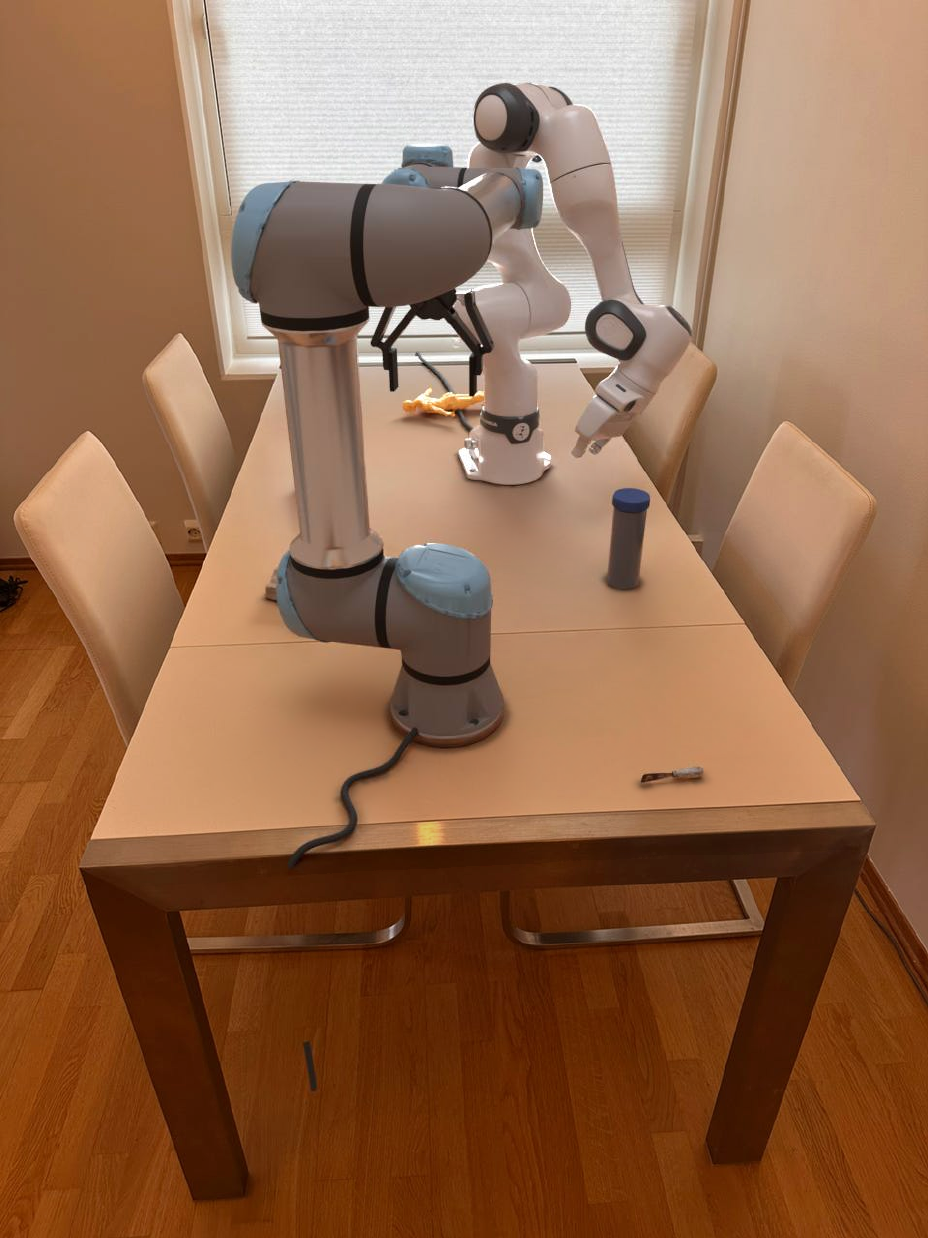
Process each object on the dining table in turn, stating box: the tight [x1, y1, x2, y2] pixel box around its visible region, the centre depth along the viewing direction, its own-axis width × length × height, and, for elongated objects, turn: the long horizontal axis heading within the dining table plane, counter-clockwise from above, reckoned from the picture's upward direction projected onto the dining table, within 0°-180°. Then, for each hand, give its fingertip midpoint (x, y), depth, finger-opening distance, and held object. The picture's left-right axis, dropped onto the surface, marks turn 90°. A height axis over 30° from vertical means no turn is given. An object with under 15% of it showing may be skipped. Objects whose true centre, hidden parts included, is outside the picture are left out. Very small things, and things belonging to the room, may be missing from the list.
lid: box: [611, 487, 651, 513], centre depth 143 cm, size 6×6×2 cm
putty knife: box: [640, 765, 705, 784], centre depth 109 cm, size 1×8×2 cm, turn 103°
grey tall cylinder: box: [606, 507, 648, 590], centre depth 147 cm, size 5×5×15 cm
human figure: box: [402, 385, 484, 418], centre depth 225 cm, size 20×20×4 cm
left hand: (433, 391), depth 149 cm, fingers open, 13 cm apart
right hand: (584, 454), depth 170 cm, fingers open, 8 cm apart
